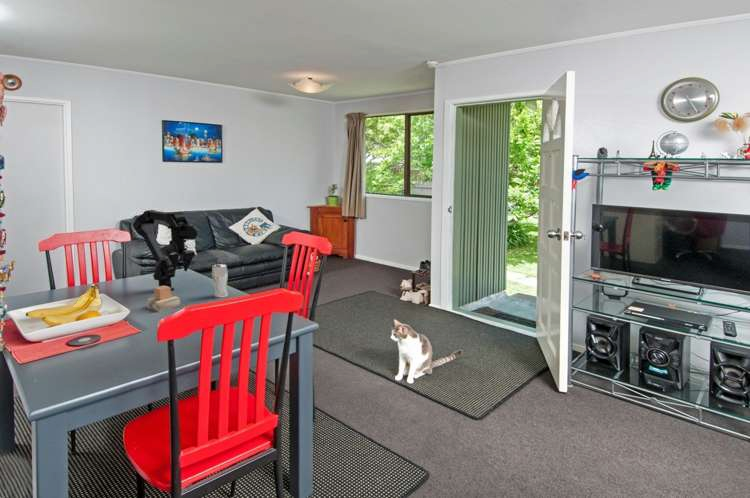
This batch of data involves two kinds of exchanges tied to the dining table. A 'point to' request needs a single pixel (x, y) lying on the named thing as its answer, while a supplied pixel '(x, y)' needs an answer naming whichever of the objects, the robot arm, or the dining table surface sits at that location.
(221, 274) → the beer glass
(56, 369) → the dining table surface
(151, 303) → the birch block
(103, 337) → the dining table surface
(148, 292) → the dining table surface
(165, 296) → the terracotta cube
